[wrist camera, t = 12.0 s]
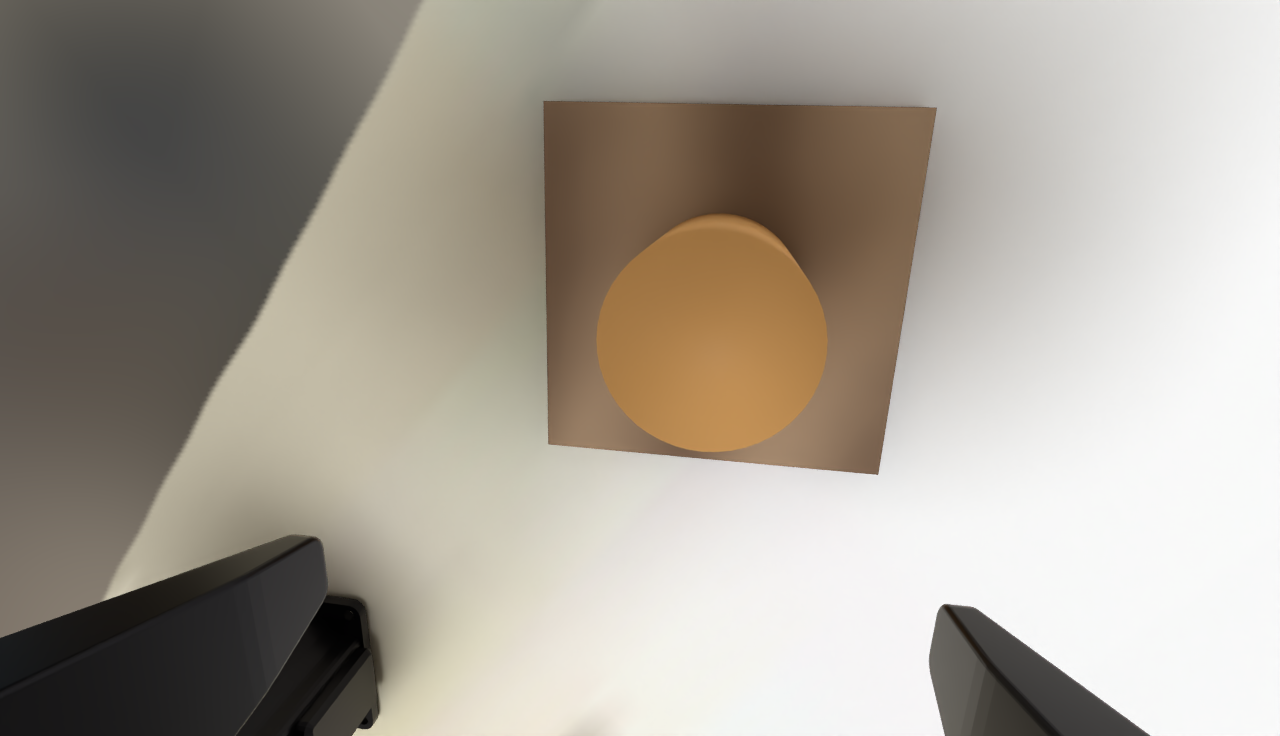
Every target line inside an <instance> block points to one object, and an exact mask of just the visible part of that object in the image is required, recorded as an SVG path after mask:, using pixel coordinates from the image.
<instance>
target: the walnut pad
mask: <svg viewBox="0 0 1280 736" xmlns="http://www.w3.org/2000/svg"><path fill="white" fill-rule="evenodd" d="M936 109H937V108H929V107H868V106H808V105H747V104H686V103H626V102H565V101H544V169H545V239H546V308H547V378H548V444H551V445H562V446H573V447H584V448H594V449H605V450H616V451H627V452H638V453H649V454H659V455H670V456H681V457H692V458H703V459H713V460H724V461H735V462H746V463H757V464H768V465H778V466H789V467H800V468H811V469H822V470H832V471H843V472H854V473H865V474H876V475H878V472H879V466H880V460H881V454H882V447H883V441H884V435H885V428H886V422H887V416H888V410H889V403H890V397H891V391H892V385H893V378H894V372H895V366H896V360H897V353H898V347H899V341H900V335H901V328H902V322H903V316H904V310H905V303H906V297H907V291H908V285H909V278H910V272H911V266H912V259H913V253H914V247H915V241H916V234H917V228H918V222H919V216H920V209H921V203H922V197H923V191H924V184H925V178H926V172H927V166H928V159H929V153H930V147H931V141H932V134H933V128H934V122H935V116H936ZM718 213H724V214H734V215H738V216H742V217H746V218H748V219H751V220H753V221H756V222H757V223H759V224H761V225H763V226H765V227H766V228H767V229H769V230H770V231H771V232H773V233H774V234H775V235H776V236H777V237H778V238H779V239H780V240H781V241H782V243H783V244H784V245H785V246H786V248H787V249H788V251H789V252H790V253H791V255H792V256H793V258H794V259H795V261H796V262H797V264H798V265H799V267H800V268H801V270H802V271H803V273H804V274H805V276H806V277H807V279H808V280H809V281H810V283H811V285H812V287H813V289H814V290H815V292H816V294H817V296H818V298H819V301H820V304H821V306H822V309H823V312H824V317H825V321H826V326H827V338H828V343H827V357H826V362H825V367H824V371H823V374H822V377H821V380H820V383H819V385H818V387H817V389H816V391H815V393H814V395H813V397H812V398H811V399H810V401H809V402H808V404H807V405H806V407H805V408H804V409H803V411H802V412H801V413H800V414H799V415H798V416H797V417H796V418H795V419H794V420H793V421H792V422H791V423H790V424H789V425H787V426H786V427H785V428H784V429H782V430H781V431H779V432H778V433H776V434H775V435H773V436H772V437H770V438H768V439H766V440H764V441H762V442H760V443H757V444H754V445H752V446H749V447H746V448H742V449H737V450H732V451H723V452H701V451H694V450H688V449H684V448H680V447H677V446H673V445H671V444H668V443H666V442H664V441H661V440H659V439H658V438H656V437H654V436H652V435H650V434H649V433H647V432H646V431H644V430H643V429H642V428H640V427H639V426H637V425H636V424H635V423H634V422H633V421H632V420H631V419H630V418H629V417H628V416H627V415H626V414H625V413H624V412H623V410H622V409H621V408H620V407H619V406H618V404H617V403H616V401H615V400H614V398H613V397H612V395H611V394H610V392H609V389H608V387H607V385H606V383H605V381H604V378H603V375H602V372H601V369H600V366H599V360H598V355H597V342H596V337H597V325H598V320H599V315H600V311H601V308H602V305H603V302H604V299H605V297H606V295H607V293H608V291H609V289H610V287H611V285H612V284H613V282H614V281H615V279H616V278H617V276H618V275H619V274H620V272H621V271H622V270H623V269H624V268H625V267H626V266H627V265H628V263H629V262H630V261H631V260H633V259H634V258H635V257H636V256H637V255H639V254H640V253H641V252H642V251H644V250H645V249H646V248H647V247H649V246H650V245H651V244H653V243H654V242H655V241H656V240H658V239H659V238H660V237H662V236H663V235H664V234H665V233H667V232H668V231H669V230H671V229H672V228H674V227H675V226H677V225H678V224H680V223H682V222H684V221H686V220H689V219H691V218H694V217H698V216H701V215H707V214H718Z"/></svg>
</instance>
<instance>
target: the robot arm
mask: <svg viewBox="0 0 1280 736" xmlns="http://www.w3.org/2000/svg"><path fill="white" fill-rule="evenodd" d="M327 590H328V579H327V571H326V564H325V557H324V550H323V545H322V542H321V541H320V539H318V538H317V537H313V536H304V535H289V536H286V537H283V538H280V539H277V540H275V541H272V542H269V543H266V544H263V545H260V546H258V547H255V548H252V549H249V550H246V551H244V552H241V553H238V554H235V555H232V556H229V557H227V558H224V559H221V560H218V561H215V562H213V563H210V564H207V565H204V566H201V567H198V568H196V569H193V570H190V571H187V572H184V573H182V574H179V575H176V576H173V577H170V578H168V579H165V580H162V581H159V582H156V583H153V584H151V585H148V586H145V587H142V588H139V589H137V590H134V591H131V592H128V593H125V594H122V595H120V596H117V597H114V598H111V599H108V600H106V601H103V602H100V603H97V604H95V605H92V606H89V607H86V608H83V609H81V610H77V611H75V612H72V613H69V614H66V615H63V616H61V617H58V618H55V619H52V620H50V621H46V622H44V623H41V624H38V625H35V626H32V627H30V628H27V629H24V630H21V631H18V632H16V633H13V634H10V635H7V636H4V637H1V638H0V736H352V735H353V733H354V732H355V731H356V729H357V728H360V729H369V728H371V727H372V726H373V724H374V723H375V721H376V720H377V718H378V709H377V692H376V683H375V675H374V666H373V658H372V653H371V650H370V642H369V634H368V625H367V617H366V610H365V607H364V606H363V604H362V603H361V602H359V601H358V600H354V599H348V598H341V597H333V596H326V594H327ZM350 611H351V612H353V613H354V614H353V613H351V612H350ZM929 668H930V674H931V679H932V683H933V687H934V691H935V696H936V700H937V704H938V708H939V712H940V717H941V721H942V725H943V729H944V734H945V736H1150V735H1149V734H1147V733H1146V732H1145V731H1143V730H1142V729H1141V728H1139V727H1138V726H1136V725H1135V724H1134V723H1132V722H1131V721H1130V720H1128V719H1127V718H1125V717H1124V716H1123V715H1121V714H1120V713H1119V712H1117V711H1116V710H1115V709H1113V708H1112V707H1110V706H1109V705H1108V704H1106V703H1105V702H1104V701H1102V700H1101V699H1099V698H1098V697H1097V696H1095V695H1094V694H1093V693H1091V692H1090V691H1089V690H1087V689H1086V688H1084V687H1083V686H1082V685H1080V684H1079V683H1078V682H1076V681H1075V680H1073V679H1072V678H1071V677H1069V676H1068V675H1067V674H1065V673H1064V672H1062V671H1061V670H1060V669H1058V668H1057V667H1056V666H1054V665H1053V664H1052V663H1050V662H1049V661H1047V660H1046V659H1045V658H1043V657H1042V656H1041V655H1039V654H1038V653H1036V652H1035V651H1034V650H1032V649H1031V648H1030V647H1028V646H1027V645H1026V644H1024V643H1023V642H1021V641H1020V640H1019V639H1017V638H1016V637H1015V636H1013V635H1012V634H1010V633H1009V632H1008V631H1006V630H1005V629H1004V628H1002V627H1001V626H999V625H998V624H997V623H995V622H994V621H993V620H991V619H990V618H989V617H987V616H986V615H984V614H983V613H982V612H980V611H979V610H977V609H976V608H974V607H970V606H960V605H950V604H944V605H942V606H941V607H940V609H939V611H938V613H937V617H936V623H935V628H934V633H933V638H932V643H931V648H930V654H929Z"/></svg>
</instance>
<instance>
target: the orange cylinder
mask: <svg viewBox="0 0 1280 736" xmlns="http://www.w3.org/2000/svg"><path fill="white" fill-rule="evenodd" d="M596 342H597V355H598V360H599V366H600V369H601V372H602V375H603V378H604V381H605V383H606V385H607V387H608V389H609V392H610V394H611V395H612V397H613V398H614V400H615V401H616V403H617V404H618V406H619V407H620V408H621V409H622V410H623V412H624V413H625V414H626V415H627V416H628V417H629V418H630V419H631V420H632V421H633V422H634V423H635V424H636V425H637V426H639V427H640V428H642V429H643V430H644V431H646V432H647V433H649V434H650V435H652V436H654V437H656V438H658V439H659V440H661V441H664V442H666V443H668V444H671V445H673V446H677V447H680V448H684V449H688V450H694V451H701V452H723V451H732V450H737V449H742V448H746V447H749V446H752V445H754V444H757V443H760V442H762V441H764V440H766V439H768V438H770V437H772V436H773V435H775V434H776V433H778V432H779V431H781V430H782V429H784V428H785V427H786V426H787V425H789V424H790V423H791V422H792V421H793V420H794V419H795V418H796V417H797V416H798V415H799V414H800V413H801V412H802V411H803V409H804V408H805V407H806V405H807V404H808V402H809V401H810V399H811V398H812V397H813V395H814V393H815V391H816V389H817V387H818V385H819V383H820V380H821V377H822V374H823V371H824V367H825V362H826V357H827V343H828V338H827V326H826V321H825V317H824V312H823V309H822V306H821V304H820V301H819V298H818V296H817V294H816V292H815V290H814V289H813V287H812V285H811V283H810V281H809V280H808V279H807V277H806V276H805V274H804V273H803V271H802V270H801V268H800V267H799V265H798V264H797V262H796V261H795V259H794V258H793V256H792V255H791V253H790V252H789V251H788V249H787V248H786V246H785V245H784V244H783V243H782V241H781V240H780V239H779V238H778V237H777V236H776V235H775V234H774V233H773V232H771V231H770V230H769V229H767V228H766V227H765V226H763V225H761V224H759V223H757V222H756V221H753V220H751V219H748V218H746V217H742V216H738V215H734V214H724V213H718V214H707V215H701V216H698V217H694V218H691V219H689V220H686V221H684V222H682V223H680V224H678V225H677V226H675V227H674V228H672V229H671V230H669V231H668V232H667V233H665V234H664V235H663V236H662V237H660V238H659V239H658V240H656V241H655V242H654V243H653V244H651V245H650V246H649V247H647V248H646V249H645V250H644V251H642V252H641V253H640V254H639V255H637V256H636V257H635V258H634V259H633V260H631V261H630V262H629V263H628V265H627V266H626V267H625V268H624V269H623V270H622V271H621V272H620V274H619V275H618V276H617V278H616V279H615V281H614V282H613V284H612V285H611V287H610V289H609V291H608V293H607V295H606V297H605V299H604V302H603V305H602V308H601V311H600V315H599V320H598V325H597V337H596Z"/></svg>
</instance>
